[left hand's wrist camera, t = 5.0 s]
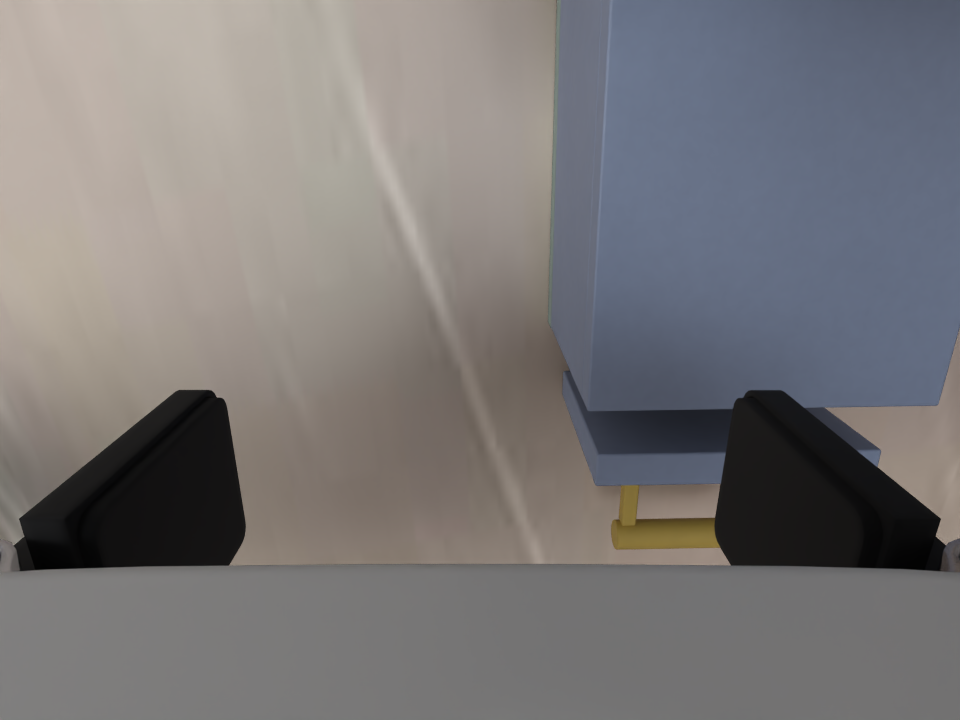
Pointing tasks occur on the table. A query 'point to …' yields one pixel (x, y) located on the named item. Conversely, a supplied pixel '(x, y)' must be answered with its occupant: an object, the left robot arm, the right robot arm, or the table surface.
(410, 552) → the table surface
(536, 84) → the table surface
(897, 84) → the cabinet
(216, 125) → the table surface
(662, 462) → the drawer
